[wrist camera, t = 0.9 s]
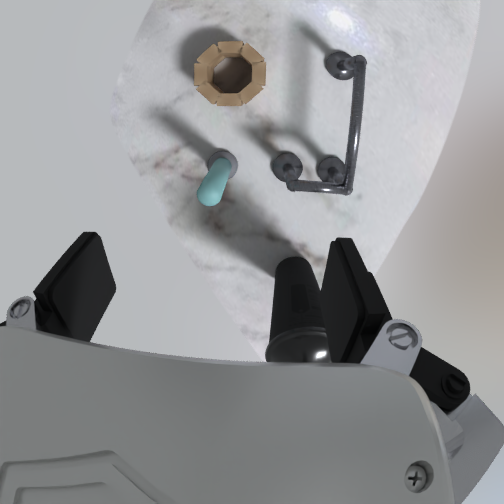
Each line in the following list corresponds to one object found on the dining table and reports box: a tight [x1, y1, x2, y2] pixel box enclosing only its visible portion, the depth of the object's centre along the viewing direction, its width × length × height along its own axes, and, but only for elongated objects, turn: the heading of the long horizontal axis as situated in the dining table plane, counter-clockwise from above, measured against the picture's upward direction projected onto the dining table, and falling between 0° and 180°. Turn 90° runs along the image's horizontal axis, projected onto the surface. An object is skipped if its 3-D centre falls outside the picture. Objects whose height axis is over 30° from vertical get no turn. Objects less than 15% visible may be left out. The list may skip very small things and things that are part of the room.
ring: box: [194, 41, 266, 106], centre depth 22 cm, size 6×6×4 cm
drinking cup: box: [265, 257, 332, 363], centre depth 29 cm, size 8×8×20 cm
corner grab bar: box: [273, 52, 367, 195], centre depth 23 cm, size 15×8×6 cm, turn 178°
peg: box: [197, 151, 238, 206], centre depth 26 cm, size 3×3×9 cm
